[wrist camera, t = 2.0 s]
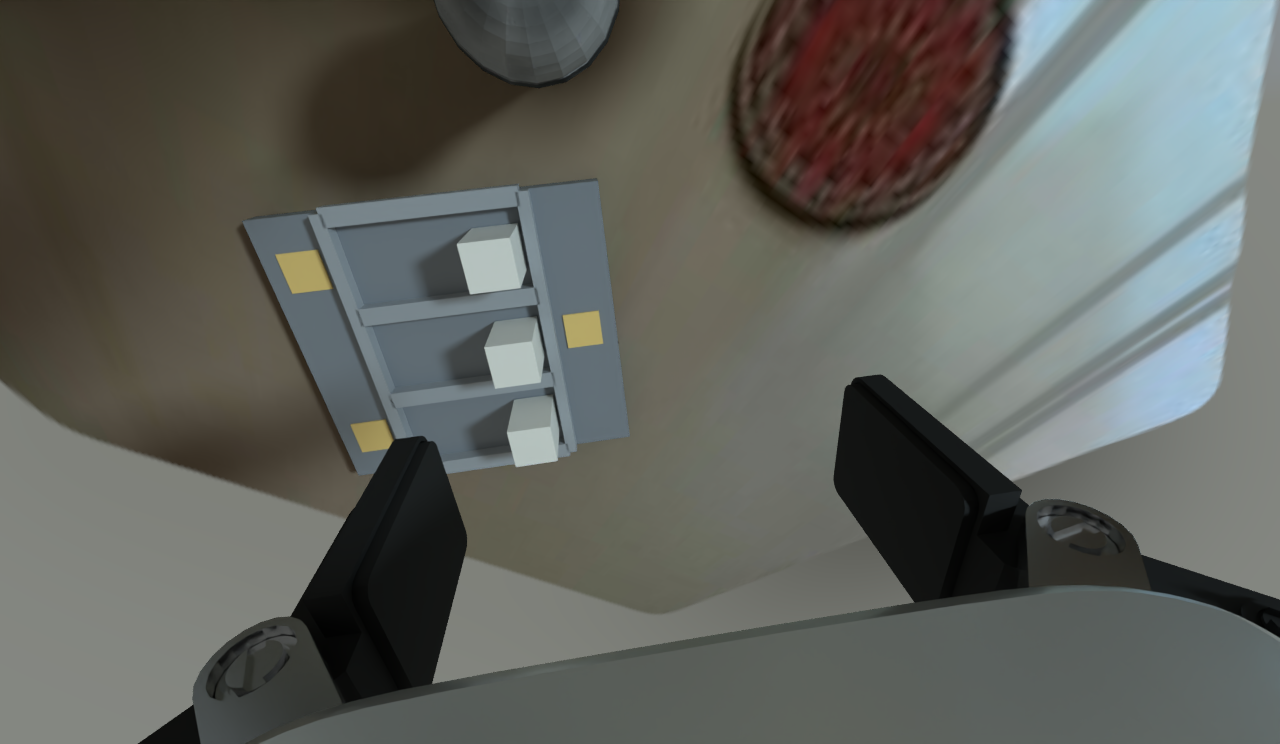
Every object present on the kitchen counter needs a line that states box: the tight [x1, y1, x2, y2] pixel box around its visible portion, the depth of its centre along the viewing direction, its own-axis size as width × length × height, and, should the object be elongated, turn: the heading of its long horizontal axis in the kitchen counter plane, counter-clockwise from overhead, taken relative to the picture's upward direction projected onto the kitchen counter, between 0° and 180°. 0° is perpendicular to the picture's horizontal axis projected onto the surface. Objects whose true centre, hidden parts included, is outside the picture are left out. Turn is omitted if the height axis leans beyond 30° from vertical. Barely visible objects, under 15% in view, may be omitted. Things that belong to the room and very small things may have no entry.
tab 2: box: [484, 316, 545, 389], centre depth 34 cm, size 3×3×4 cm
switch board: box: [242, 178, 630, 475], centre depth 36 cm, size 22×21×2 cm
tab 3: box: [507, 394, 559, 467], centre depth 37 cm, size 3×3×4 cm
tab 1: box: [457, 223, 527, 294], centre depth 31 cm, size 3×3×4 cm
